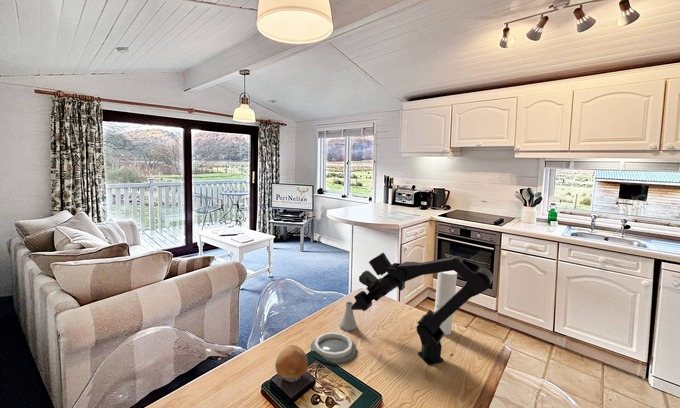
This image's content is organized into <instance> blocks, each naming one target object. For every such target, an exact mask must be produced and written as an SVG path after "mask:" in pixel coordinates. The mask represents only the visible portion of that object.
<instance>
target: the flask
mask: <svg viewBox="0 0 680 408" xmlns="http://www.w3.org/2000/svg"><path fill="white" fill-rule="evenodd" d="M353 304H354V302H352V301H346V302H345V309H344V310H345V311H344V313H343V315H342V318H341V320H340V322H339V327H340V329H342V330H343V331H346V332H347V331H354V330H357V329H358V325H357V322H356V319H355V315H354V310H352V308H351V307H352V306H353Z"/></svg>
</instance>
